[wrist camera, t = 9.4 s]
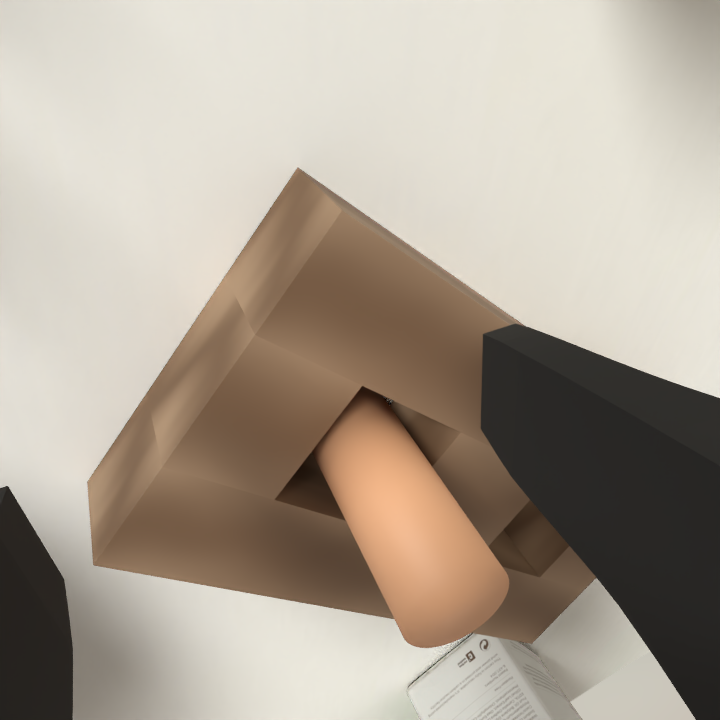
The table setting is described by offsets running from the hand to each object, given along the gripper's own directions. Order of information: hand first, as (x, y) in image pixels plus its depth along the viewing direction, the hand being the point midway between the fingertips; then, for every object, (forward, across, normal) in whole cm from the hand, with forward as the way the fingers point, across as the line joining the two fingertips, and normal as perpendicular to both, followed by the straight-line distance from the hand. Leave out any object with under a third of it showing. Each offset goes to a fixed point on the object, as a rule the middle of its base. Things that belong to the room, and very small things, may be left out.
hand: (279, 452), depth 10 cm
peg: (+10, -4, +8) cm, 13 cm away
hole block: (+10, -7, +11) cm, 17 cm away
